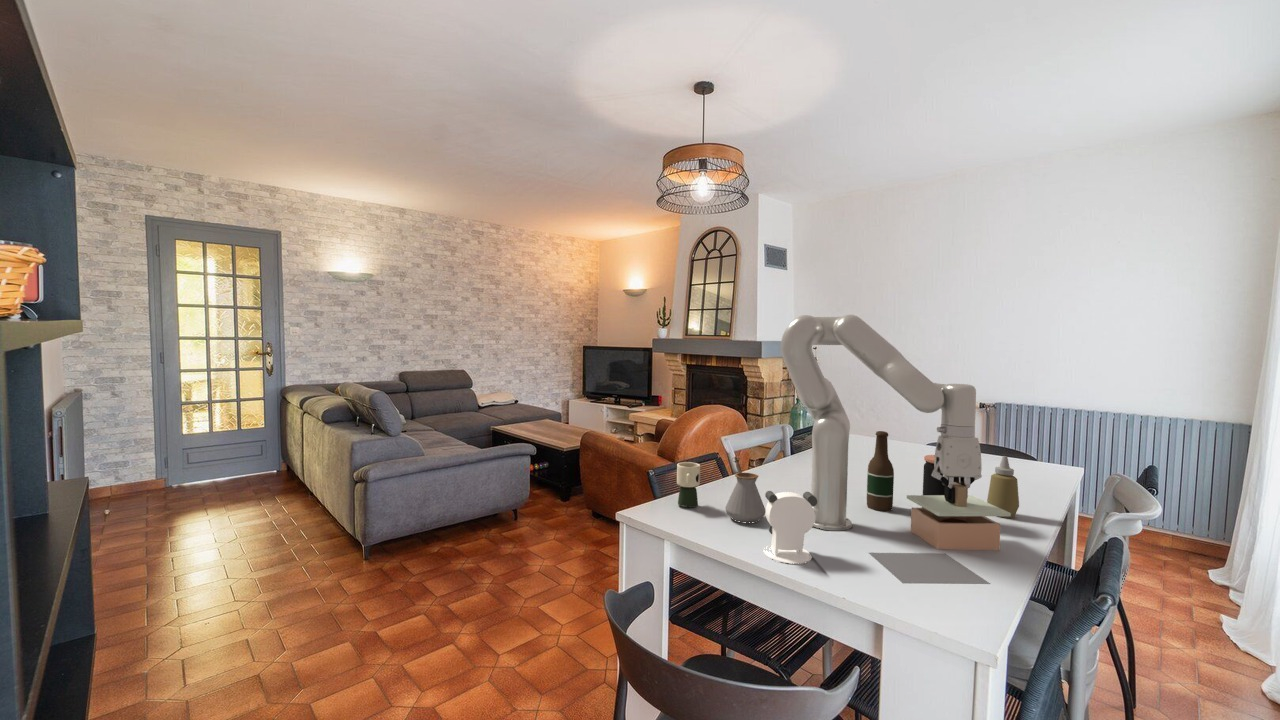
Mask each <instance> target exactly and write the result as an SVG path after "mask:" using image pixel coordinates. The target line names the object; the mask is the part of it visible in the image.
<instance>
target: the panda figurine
mask: <svg viewBox="0 0 1280 720" xmlns="http://www.w3.org/2000/svg"><path fill="white" fill-rule="evenodd" d="M765 498H766V499H767V503H766V507H765V510H766V512H765V517H766V520H767V522H768V523H769V527H768V531H769V533H770V534H771V543H770V545H771V547H770V548H771V549H770V548H769V550H772V553H773V554H774V555H773V554H772V553H771V552H770V551H769V552H768V551H767V550H766V551H765V550H764V549H765V547H766V549H767V547H768V546H769V545H767V546H765V547H764V548H763V549H762V550H763V552H764V553H763V555H764V554H765V555H766V556H768V557H769V558H771V559H774V560H777V561H780V562H784V563H792V564H791V565H794V564H796V565H799V564H798V563H805V562H808V561H810V560H811V559H812V560H813V555H812V554H811V552H810V551H809V550H807V549H805V548H804V542H805V541H804V540H805V535H806V534H807V533H808V532H809V531H810V530H811V529H812V528H814V527H813V525H814V523H815V512H814V510H813V507H812V506H816V504H817V499H816V497H815V496H813V495H812V494H811V492H810V491H804V493H803V494H802V495H801V494H799V493H797V492H791V491H782V492H781V491H780V492H777V493H774V492H773V491H772V490H767V491H766V492H765ZM778 549H779V550H778ZM778 551H779V553H778ZM765 555H764V556H765ZM766 556H765V557H766ZM769 558H768V559H769ZM771 559H770V560H771ZM812 560H811V561H812ZM811 561H810V562H811ZM784 563H783V564H784ZM793 563H794V564H793ZM808 563H809V562H808ZM805 564H806V563H805Z"/></svg>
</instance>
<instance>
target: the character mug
mask: <svg viewBox="0 0 1280 720" xmlns="http://www.w3.org/2000/svg"><path fill="white" fill-rule="evenodd" d="M700 483H701V464H700V463H697V462H691V461H688V462H687V461H683V462H678V463H677V464H676V485H677V486H680V488H679V492H678V497H677V498H678V500H677V505H679V506H681V507H686V508H687V507H688V508H695V507H698V506H699V504H698V503H699V502H698V491H697V487H698V486H700Z"/></svg>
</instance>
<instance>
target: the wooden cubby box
mask: <svg viewBox="0 0 1280 720" xmlns="http://www.w3.org/2000/svg"><path fill="white" fill-rule="evenodd" d="M910 515H911V517H910V533H913V534H915V535H916V536H918V537H919V538H921V539H922V540H923V541H925V542H927V543H928V544H929V545H931V546H932V547H934V548H935V549H936V550H968V551H969V550H975V551H976V550H977V551H980V550H981V551H982V550H983V551H984V550H985V551H987V550H989V551H990V550H991V551H993V550H995V551H998V552H1000V548H1001V547H1000V544H1001V523H1000V522H999V523H998V522H996V521H995V520H993V519H990V518H989V517H988V516H937V515H936V514H934V513H932V512H930V511H928V510H927V509H925V508H922V507H911V511H910ZM949 518H955V519H960V520H964V521H966V522H968V523H940V521H942V520H944V519H949Z"/></svg>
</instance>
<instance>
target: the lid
mask: <svg viewBox="0 0 1280 720" xmlns="http://www.w3.org/2000/svg"><path fill="white" fill-rule="evenodd" d="M953 488H955V503H950V502H948V501H946V500H945V497H944V495H923V494H921V495H920V494H917V495H915V494H911V495H909V494H906V499H907V500H909V501H911V502H912V503H914V504H916V505H918V506H920V508H922V507H923V508H925V509H927V510H928V511H930V512H932V513H934V514H936V515H937V516H985V517H999V516H1011V513H1009V512H1007V511H1005V510H1003V509H1001V508H998V507H996V506H994V505H992V504H989V503H988V502H987V501H985V500H983V499H981V498H978V497H976V496H974V495H968V497H967V487H965V486H963V485H961V484H958V483H956V482H953Z"/></svg>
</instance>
